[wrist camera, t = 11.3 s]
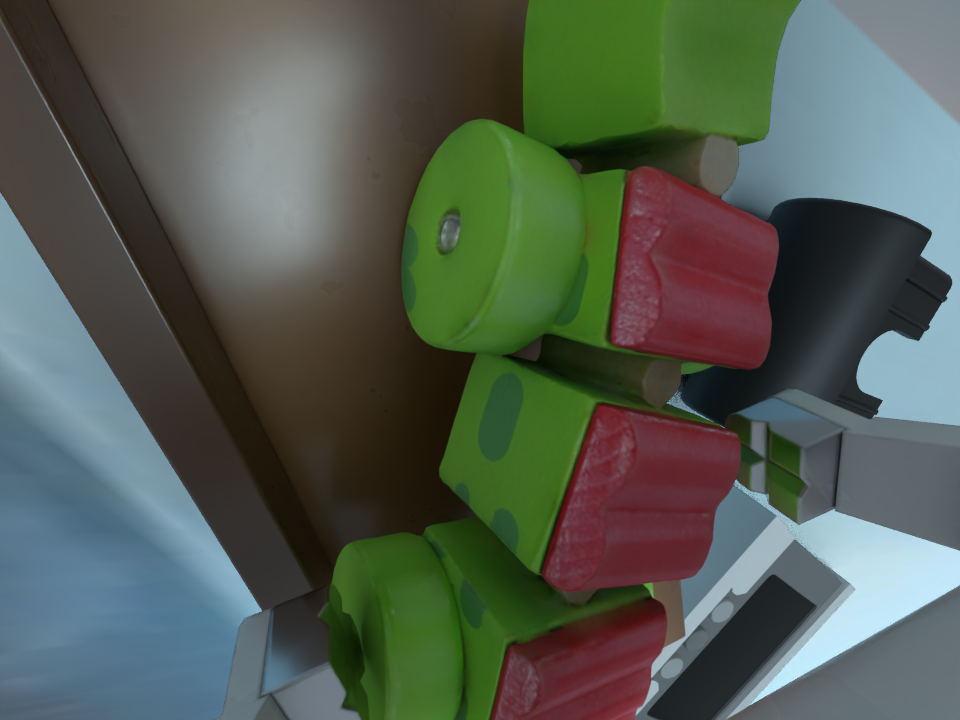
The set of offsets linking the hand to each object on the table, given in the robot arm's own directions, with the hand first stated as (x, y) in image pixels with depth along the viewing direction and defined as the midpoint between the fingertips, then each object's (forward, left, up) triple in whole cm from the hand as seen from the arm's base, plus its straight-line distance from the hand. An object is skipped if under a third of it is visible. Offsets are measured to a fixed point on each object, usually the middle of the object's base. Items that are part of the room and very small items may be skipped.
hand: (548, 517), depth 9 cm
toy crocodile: (0, -1, -3) cm, 3 cm away
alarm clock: (+2, +30, -12) cm, 32 cm away
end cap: (-12, +12, -12) cm, 21 cm away
